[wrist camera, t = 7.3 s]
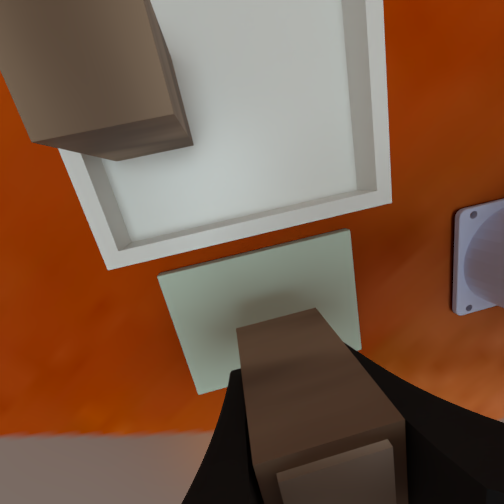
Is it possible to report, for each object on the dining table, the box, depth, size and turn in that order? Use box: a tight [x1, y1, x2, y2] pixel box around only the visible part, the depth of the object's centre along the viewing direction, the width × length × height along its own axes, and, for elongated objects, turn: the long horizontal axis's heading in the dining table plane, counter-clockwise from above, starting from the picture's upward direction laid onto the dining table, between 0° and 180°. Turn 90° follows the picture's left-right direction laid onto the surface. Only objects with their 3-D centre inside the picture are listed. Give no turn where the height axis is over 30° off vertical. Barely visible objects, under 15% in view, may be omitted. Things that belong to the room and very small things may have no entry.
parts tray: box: [58, 0, 392, 270], centre depth 12 cm, size 15×14×2 cm
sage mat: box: [157, 228, 362, 395], centre depth 16 cm, size 12×9×1 cm
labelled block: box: [236, 308, 408, 504], centre depth 9 cm, size 4×4×6 cm
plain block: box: [0, 0, 194, 161], centre depth 9 cm, size 4×4×6 cm
